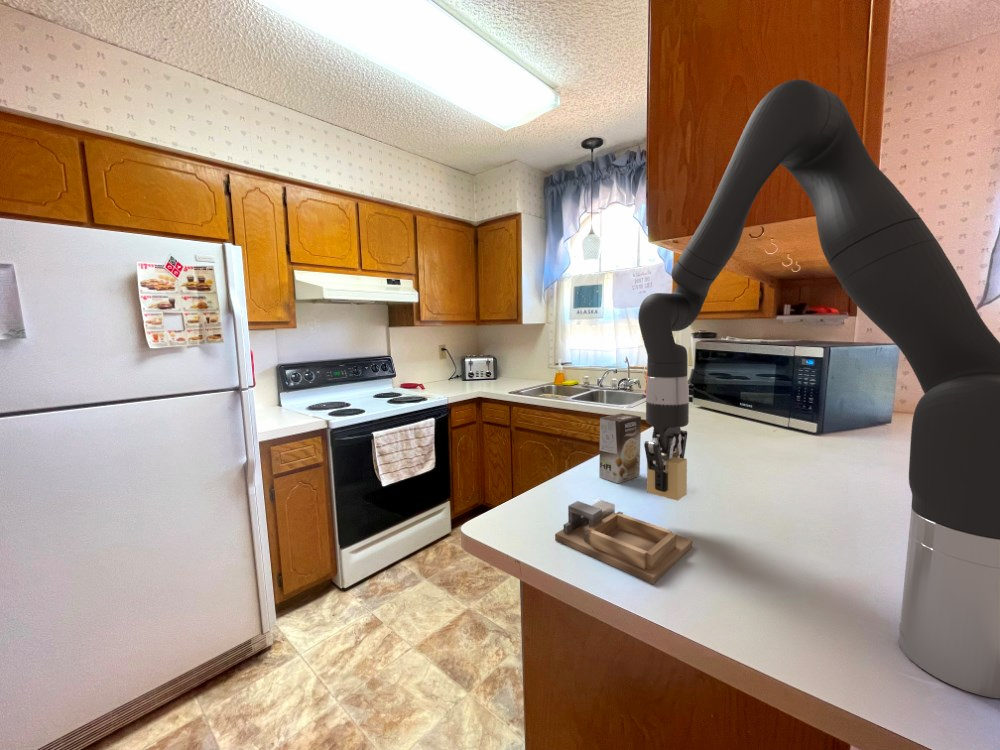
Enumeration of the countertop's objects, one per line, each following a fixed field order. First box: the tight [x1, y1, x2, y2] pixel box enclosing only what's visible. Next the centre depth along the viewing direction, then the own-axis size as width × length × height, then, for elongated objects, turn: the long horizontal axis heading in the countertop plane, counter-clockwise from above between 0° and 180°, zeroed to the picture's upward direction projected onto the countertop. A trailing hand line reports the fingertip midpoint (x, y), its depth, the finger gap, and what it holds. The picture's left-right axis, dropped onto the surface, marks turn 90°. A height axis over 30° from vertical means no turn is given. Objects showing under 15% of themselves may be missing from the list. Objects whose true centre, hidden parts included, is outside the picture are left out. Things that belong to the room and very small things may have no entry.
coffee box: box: [598, 412, 642, 484], centre depth 106 cm, size 9×6×16 cm
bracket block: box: [646, 453, 688, 502], centre depth 78 cm, size 6×4×7 cm, turn 44°
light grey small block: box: [587, 499, 616, 523], centre depth 80 cm, size 3×5×3 cm, turn 134°
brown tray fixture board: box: [554, 500, 694, 585], centre depth 73 cm, size 19×15×6 cm
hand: (666, 486), depth 79 cm, fingers closed on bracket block, 4 cm apart
